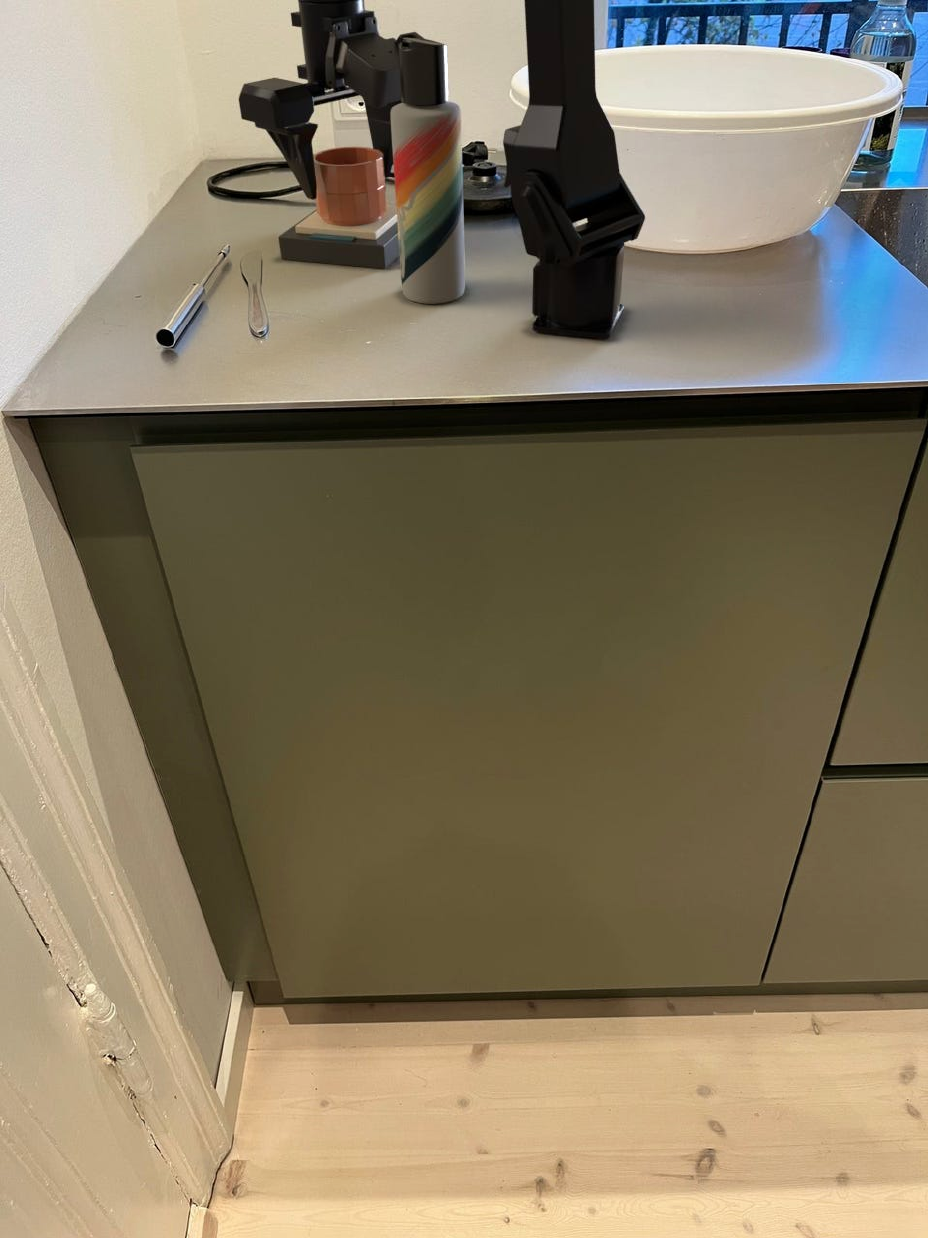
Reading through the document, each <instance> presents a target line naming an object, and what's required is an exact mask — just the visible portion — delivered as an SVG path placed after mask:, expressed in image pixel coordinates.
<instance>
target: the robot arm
mask: <svg viewBox="0 0 928 1238" xmlns="http://www.w3.org/2000/svg"><path fill="white" fill-rule="evenodd" d="M523 2H524V16H525V17H524V20H525V39H526V41H525V42H526V59H527V77H528V78H527V80H528V81H527V82H528V104H527V108H526V110H525V113H524V116H523V118H522V120H521V124H519V125H516V126H512V127H509V128H506V129H505V130H504V133H503V139H502V146H503V151H504V157H505V164H506V167H505V168H506V169H505V171H506V172H505V173H506V175H505V178H504V184H503V186H504V187H505V189H507V188H510V196H511V202H512V206H513V208H514V211H515V213H516V215H517V219H518V224H519V227H520V232H521V236H522V240H523V245H524V249H525V252H526V254H527V255H529V256H532V257H534V258H537V259H538V260H537V262H536V263H535V265H534V266H533V267H532V298H531V299H532V301H531V303H532V304H531V306H532V307H531V309H532V310H531V313H532V315H533V316H534V317H536V318H535V320H534V321H533V323H532V331H533V332H537V333H547V334H556V335H566V336H575V337H583V338H593V339H604V340H605V339H610V338H611V337H612V334H613V332H614V331H615V328H616V326H617V325H618V323H619V321H620V318H621V316H622V315H623V314H624V313H623V312H624V309H625V306H624V304H622V303H621V293H622V281H623V268H624V256H625V255H624V254H625V243H628V242H630V241H631V242H633V241H636V240H637V239H638V238H639V235H640V233H641V230H642V229H643V226H644V223H645V220H646V215H645V212H644V211H643V209H642V208H641V206H640V204H639V203H638V201H637V200H636V198H635V196H634V195H633V193H632V191H631V189H630V188H629V186H628V184H627V183H626V181H625V179H624V178H623V176H622V174H621V173H620V165H619V164H620V163H619V156H618V149H617V142H616V134H615V131H614V128H613V127H612V125H611V123H610V120H609V118H608V117H607V115H606V112H605V111H604V109H603V106H602V105H601V103H600V100H599V99H598V97H597V90H596V36H595V35H596V34H595V26H596V25H595V0H523ZM297 4H298V11H294V12H290V20H291V26H292V27H296V28H300V30H301V38H302V47H303V56H304V63H303V64H299V65H298V64H297V65H296V71H297V78H298V79H300V80H305V81H307V82H306V83H304V82H303V83H302V82H298V81H293V80H288V79H283V78H279V77H270V78H266V79H260V80H256V81H252V82H247V83H243V85H242V87H241V90H240V92H239V95H238V105H239V111H240V117H241V120H244V121H247V122H252V123H254V126H255V128H258V129H262V130H265V131H266V132H267V135H268V136H269V137H270V139H271V140H272V142H273V143H274V144H275V146H276V147H277V149H278V150H279V151H280V153H281V155H282V156H283V158H284V160H285V161H286V163H287V165H288V167H289V169H290V171H291V172H292V173H293V175H294V178H295V180H296V181H297V183H298V185H299V186H300V189H301V190H302V191H303V194H304V196H305V198H307V199H308V200H311V201H313V200H315V199H316V198H317V184H316V174H315V166H314V157H313V155H314V150H313V139H314V137H315V134H316V132H317V130H318V127H319V124H318V123H314V122H310V120H311V118H312V116H313V114H314V112H315V107H316V106H321V105H324V104H325V105H326V104H329V103H334V102H337V101H342V100H345V99H346V100H347V99H351V98H354V97H359V96H360V97H361V98H362V100H363V104H364V107H365V114H366V118H367V123H368V124H367V125H368V129H369V135H370V140H371V145H372V148H373V149H377V150H379V151H381V152H382V153H383V159H384V172H385V179H388V178H389V177H390V176H391V172H392V168H393V166H394V162H393V147H392V132H391V109H392V108H393V107H394V106H396V105H398V104H400V103H402V99H401V84H400V69H399V53H398V46H399V44H400V43H401V42H402V39H403V38H423V39H425V38H424V36H422V35H421V34H419V33H418V32H416V31H411V32H406V33H401V34H400V35H399V36H398V37H397V38H395V37H390V38H385V37H383V36H382V35H380V31H379V27H378V19H377V18H378V17H376V14H375V11H374V10H368V9H367V10H366V7H365V0H297ZM585 219H586V221H587V222H585V223H582V224H579V225H577V226H574V224H575V223H578V222H580V221H583V220H585Z"/></svg>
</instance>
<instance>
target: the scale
mask: <svg viewBox="0 0 928 1238" xmlns="http://www.w3.org/2000/svg"><path fill="white" fill-rule="evenodd" d="M278 244H279V252H280V259H281V260H287V261H288V260H289V261H297V262H305V263H307V262H308V263H317V264H318V263H319V264H327V265H328V264H329V265H337V266H339V265H340V266H347V267H348V266H349V267H360V268H370V269H380V270H381V269H382V270H386V269H387V268H388V267H389V266H390V265H391V264H392V263H394V261H395V260H396V259H398V258H399V257H400V253H399V238H398V223H397V208H396V204H387V210H386V212H385V213H384V216H383V217H382V218H381V219H379V220H377V221H375V222H372V223H368V224H364V225H356V226H340V225H333V224H329V223H326V222H324V221H323V220H322V219H321V217H320V216H319V215H318V214H317V208H316V209H315V210H313V211H312V212H311V213H309V214H307V215H306V216H305V217H304V218H302V219H301V220H300V221H298V222H297V223H295V224H294V225H293V226H291V227H290V228H288V229H287V230H286V231H284V232H283V233H282V234H280V235H278Z"/></svg>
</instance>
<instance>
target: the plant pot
mask: <svg viewBox="0 0 928 1238" xmlns="http://www.w3.org/2000/svg"><path fill="white" fill-rule="evenodd" d="M313 157H314V166H315V174H316V184H317V198H316V199H314V200H315V207H316V209H317V214H318V215H319V216H320V217H321V219H322V220H323V221H324V222H326V223H329V224H333V225H340V226H356V225H364V224H368V223H372V222H375V221H377V220H379V219H381V218H382V217H383V216H384V213H385V212H386V210H387V205H388V202H387V188H386V178H385V172H384V159H383V153H382V152H381V151H379V150H377V149H373V147H365V146H341V147H333V148H328V149H323V150H320V151H318V152H316V153H313Z"/></svg>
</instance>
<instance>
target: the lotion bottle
mask: <svg viewBox="0 0 928 1238" xmlns="http://www.w3.org/2000/svg"><path fill="white" fill-rule="evenodd" d="M423 38H424V37H423ZM423 38H403V39H402V42H401V43H400V44H399V46H398V53H399V69H400V84H401V99H402V103H400V104H398V105H396V106H394V107H393V108H392V109H391V132H392V147H393V173H394V174H393V175H394V189H395V191H394V192H395V193H394V194H395V205H396V208H397V223H398V238H399V253H400V256H399V265H400V266H399V268H400V279H401V280H400V281H401V290H402V294H403V296H404V297H405V298H406V299H407V300H409V301H412V302H414V303H418V304H425V305H427V304H428V305H432V304H433V305H435V304H436V305H437V304H444V303H449V302H452V301H454V300H458V299H459V298H460V297H462V296H463V295H464V293H465V290H466V289H465V288H466V262H465V261H466V258H465V255H466V254H465V217H464V179H463V177H464V176H463V175H464V173H463V138H462V137H463V134H462V133H463V132H462V131H463V130H462V111H461V107H460V105H459V104H457V103H455V102H453V101H449V99H450V98H449V97H450V93H449V92H450V91H449V63H448V60H449V59H448V57H449V55H448V45H447V44H445V43H442V42H439V41H435V40H433V39H428V38H424V39H423Z"/></svg>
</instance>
